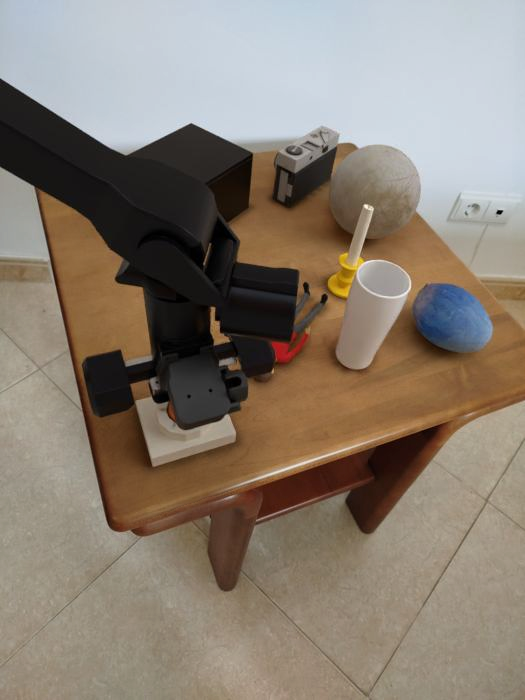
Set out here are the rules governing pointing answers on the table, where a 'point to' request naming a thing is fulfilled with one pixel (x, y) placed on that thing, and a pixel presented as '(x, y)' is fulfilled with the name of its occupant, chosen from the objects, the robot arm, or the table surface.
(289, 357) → the person figure
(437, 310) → the egg
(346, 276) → the candle
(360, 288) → the drinking glass
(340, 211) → the decorative sphere
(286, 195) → the camera
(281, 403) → the table surface
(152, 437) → the button block
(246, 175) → the black cabinet
